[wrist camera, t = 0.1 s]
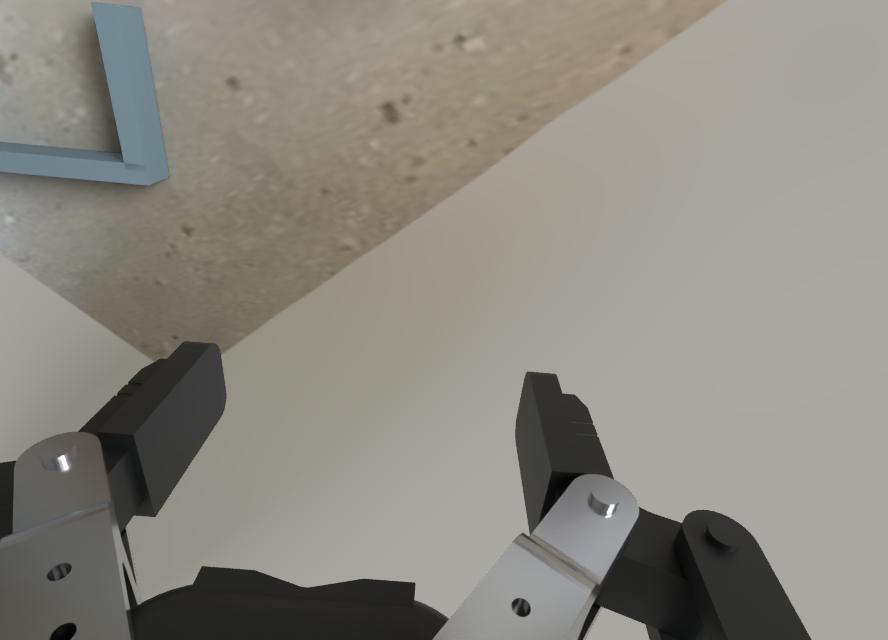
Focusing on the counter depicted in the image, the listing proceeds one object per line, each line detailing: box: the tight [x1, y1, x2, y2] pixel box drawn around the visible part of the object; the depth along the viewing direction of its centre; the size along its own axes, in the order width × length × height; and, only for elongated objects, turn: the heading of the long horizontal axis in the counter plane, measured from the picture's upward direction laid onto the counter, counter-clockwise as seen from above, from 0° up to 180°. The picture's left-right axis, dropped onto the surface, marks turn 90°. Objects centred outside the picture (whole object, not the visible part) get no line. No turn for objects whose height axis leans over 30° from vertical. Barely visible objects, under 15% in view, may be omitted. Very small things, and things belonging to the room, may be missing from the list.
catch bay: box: [0, 2, 169, 186], centre depth 36 cm, size 12×19×3 cm, turn 85°
